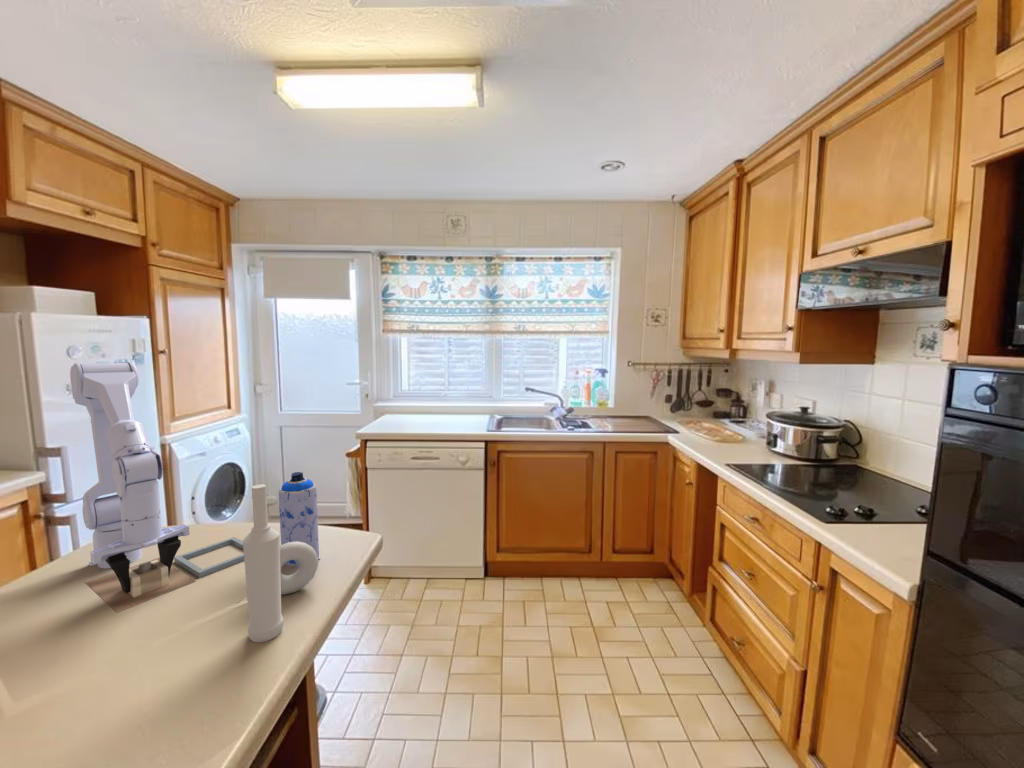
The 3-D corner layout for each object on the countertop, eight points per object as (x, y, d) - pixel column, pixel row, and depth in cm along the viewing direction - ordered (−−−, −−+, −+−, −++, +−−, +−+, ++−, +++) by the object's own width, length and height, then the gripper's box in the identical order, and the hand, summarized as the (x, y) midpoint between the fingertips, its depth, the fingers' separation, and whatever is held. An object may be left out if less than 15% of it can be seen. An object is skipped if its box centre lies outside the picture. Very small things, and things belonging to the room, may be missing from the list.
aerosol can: (327, 555, 98) (324, 469, 96) (302, 572, 91) (298, 480, 89) (299, 551, 100) (295, 467, 99) (272, 567, 93) (267, 477, 91)
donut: (263, 605, 79) (260, 553, 78) (260, 597, 82) (258, 546, 81) (321, 587, 85) (319, 539, 84) (316, 580, 88) (315, 532, 87)
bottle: (246, 647, 68) (238, 493, 66) (249, 628, 73) (241, 484, 71) (283, 637, 70) (276, 488, 68) (283, 619, 75) (277, 479, 73)
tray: (174, 566, 93) (174, 557, 93) (234, 544, 103) (234, 536, 103) (199, 582, 87) (199, 572, 87) (260, 558, 97) (260, 549, 97)
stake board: (85, 587, 85) (83, 560, 85) (159, 561, 95) (158, 537, 95) (117, 617, 75) (114, 588, 75) (196, 586, 85) (194, 559, 85)
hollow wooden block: (123, 588, 83) (122, 571, 82) (158, 576, 87) (156, 559, 87) (133, 597, 80) (132, 579, 80) (169, 584, 84) (167, 566, 84)
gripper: (97, 534, 74) (103, 609, 75) (194, 507, 86) (198, 572, 87) (84, 525, 78) (90, 596, 79) (179, 501, 90) (183, 563, 91)
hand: (146, 583), depth 84 cm, fingers closed on hollow wooden block, 5 cm apart
